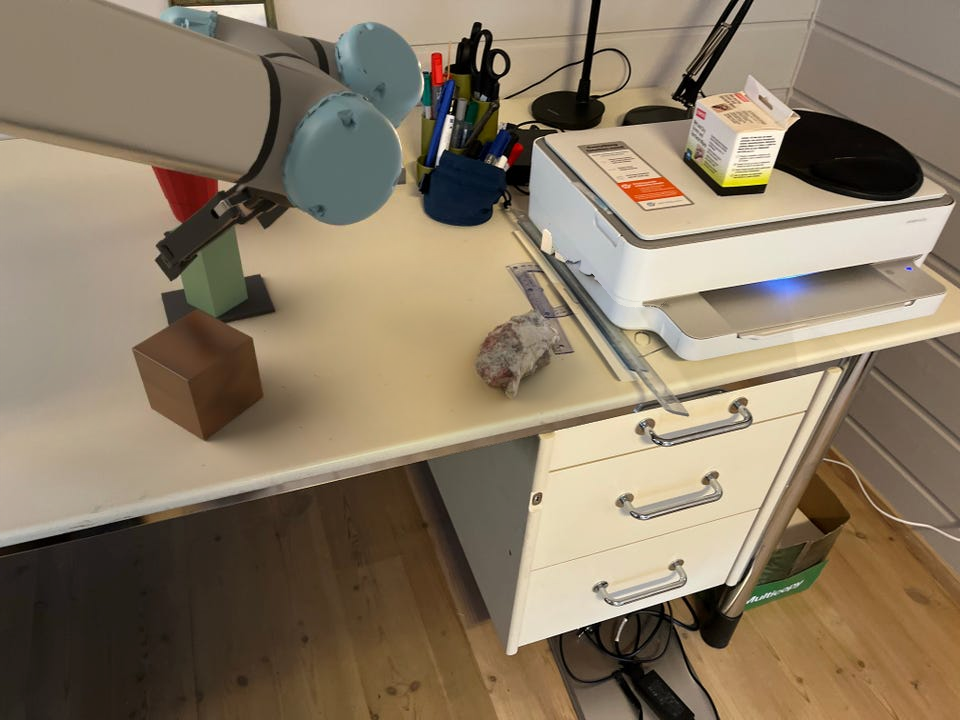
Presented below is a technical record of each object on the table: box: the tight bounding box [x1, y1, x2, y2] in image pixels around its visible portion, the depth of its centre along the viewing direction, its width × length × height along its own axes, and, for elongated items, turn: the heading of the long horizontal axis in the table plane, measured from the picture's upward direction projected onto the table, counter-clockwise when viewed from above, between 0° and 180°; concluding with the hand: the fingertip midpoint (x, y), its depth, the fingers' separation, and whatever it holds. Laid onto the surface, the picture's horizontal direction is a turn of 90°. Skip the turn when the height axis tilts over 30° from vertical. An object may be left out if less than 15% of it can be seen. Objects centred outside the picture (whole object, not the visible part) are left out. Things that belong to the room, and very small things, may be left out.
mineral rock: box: [474, 308, 561, 400], centre depth 84 cm, size 15×8×4 cm, turn 142°
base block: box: [131, 309, 264, 442], centre depth 76 cm, size 8×8×8 cm
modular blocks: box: [540, 228, 567, 263], centre depth 100 cm, size 20×7×4 cm, turn 44°
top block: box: [169, 225, 248, 318], centre depth 88 cm, size 5×5×10 cm
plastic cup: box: [151, 166, 219, 223], centre depth 103 cm, size 11×11×12 cm
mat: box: [160, 273, 276, 326], centre depth 91 cm, size 12×8×1 cm, turn 115°
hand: (215, 242), depth 84 cm, fingers open, 13 cm apart
